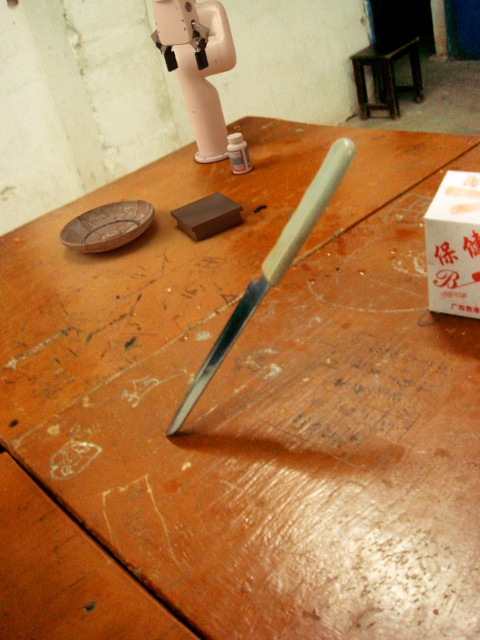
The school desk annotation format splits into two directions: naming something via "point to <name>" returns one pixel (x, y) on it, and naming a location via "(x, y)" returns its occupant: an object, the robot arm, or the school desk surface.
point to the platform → (208, 215)
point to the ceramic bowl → (107, 226)
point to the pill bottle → (238, 154)
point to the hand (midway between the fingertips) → (188, 69)
